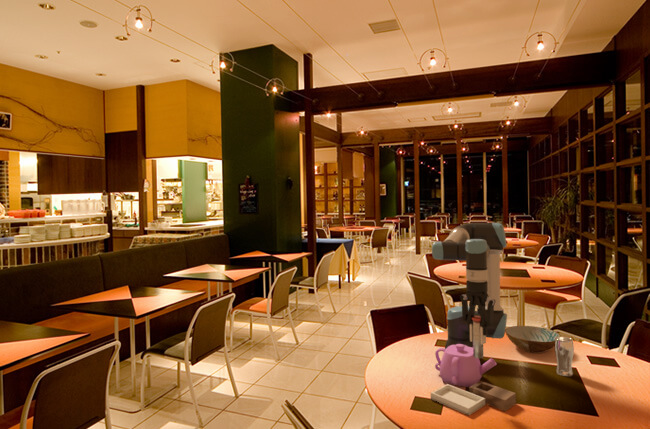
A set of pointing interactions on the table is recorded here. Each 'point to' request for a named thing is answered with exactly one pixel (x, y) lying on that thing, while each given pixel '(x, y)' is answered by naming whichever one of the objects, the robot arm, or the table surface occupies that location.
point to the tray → (458, 399)
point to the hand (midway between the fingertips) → (477, 341)
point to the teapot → (461, 365)
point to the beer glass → (564, 355)
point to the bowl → (532, 338)
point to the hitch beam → (494, 395)
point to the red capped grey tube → (477, 337)
